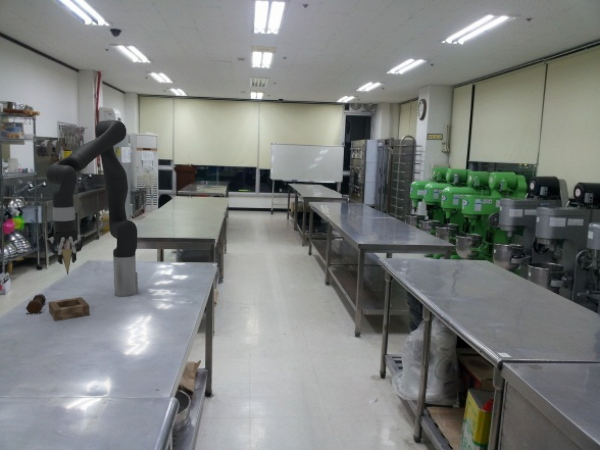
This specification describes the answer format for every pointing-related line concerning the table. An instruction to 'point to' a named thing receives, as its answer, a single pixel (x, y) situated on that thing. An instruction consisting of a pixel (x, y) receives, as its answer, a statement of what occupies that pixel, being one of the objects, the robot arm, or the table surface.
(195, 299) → the table surface
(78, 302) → the wooden square frame
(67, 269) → the ice cream cone
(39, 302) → the bolt
